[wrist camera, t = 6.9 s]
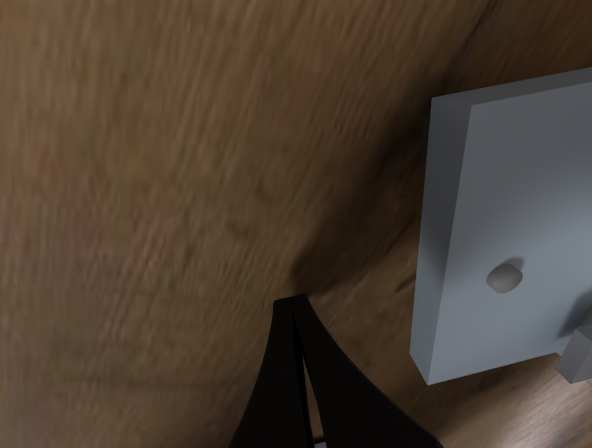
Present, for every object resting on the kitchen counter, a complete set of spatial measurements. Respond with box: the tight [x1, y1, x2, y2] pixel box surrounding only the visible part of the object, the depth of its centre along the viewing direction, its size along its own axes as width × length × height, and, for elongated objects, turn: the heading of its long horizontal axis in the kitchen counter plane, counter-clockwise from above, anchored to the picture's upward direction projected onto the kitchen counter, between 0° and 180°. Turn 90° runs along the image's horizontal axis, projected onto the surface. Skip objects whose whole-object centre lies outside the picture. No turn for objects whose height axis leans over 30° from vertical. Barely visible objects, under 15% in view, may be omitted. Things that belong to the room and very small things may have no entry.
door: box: [409, 67, 592, 385], centre depth 13 cm, size 14×8×3 cm, turn 9°
